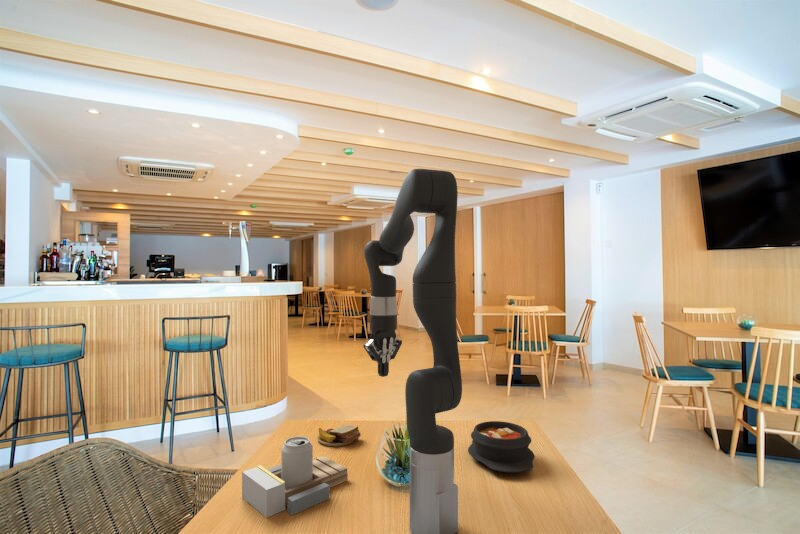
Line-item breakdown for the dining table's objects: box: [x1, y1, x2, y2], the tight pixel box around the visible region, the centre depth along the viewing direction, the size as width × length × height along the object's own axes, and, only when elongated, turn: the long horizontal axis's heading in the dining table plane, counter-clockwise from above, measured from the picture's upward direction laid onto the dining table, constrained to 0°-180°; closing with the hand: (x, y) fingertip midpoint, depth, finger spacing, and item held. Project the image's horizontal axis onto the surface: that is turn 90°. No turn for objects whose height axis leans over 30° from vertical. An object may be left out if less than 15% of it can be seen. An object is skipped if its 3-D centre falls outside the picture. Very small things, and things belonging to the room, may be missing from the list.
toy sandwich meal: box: [316, 424, 362, 447], centre depth 138 cm, size 12×14×5 cm
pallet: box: [273, 455, 349, 507], centre depth 108 cm, size 11×18×3 cm, turn 135°
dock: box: [241, 464, 331, 519], centre depth 103 cm, size 18×14×6 cm
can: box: [280, 435, 314, 490], centre depth 106 cm, size 8×8×12 cm
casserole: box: [467, 420, 535, 473], centre depth 124 cm, size 25×19×8 cm
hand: (383, 375), depth 118 cm, fingers closed
